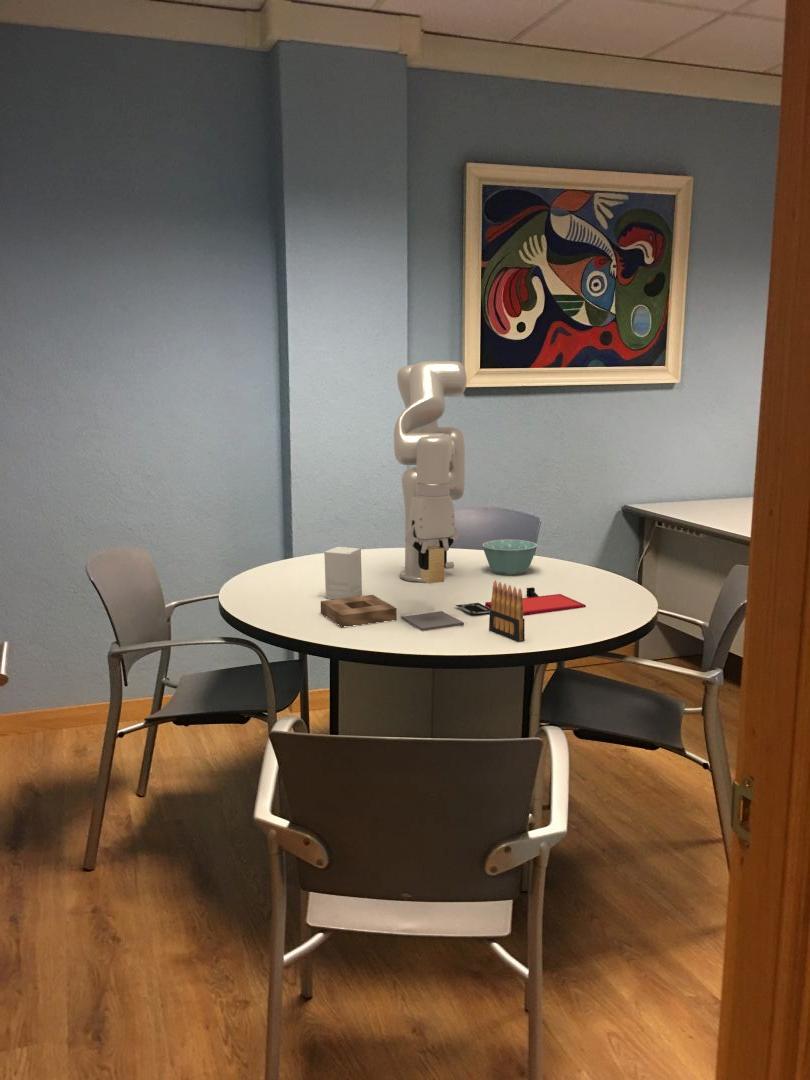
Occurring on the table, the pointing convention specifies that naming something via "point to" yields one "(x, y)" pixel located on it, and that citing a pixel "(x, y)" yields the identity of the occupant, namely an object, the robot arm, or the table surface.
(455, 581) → the table surface
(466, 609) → the red board with handle
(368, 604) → the socket block
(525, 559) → the bowl
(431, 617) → the rubber mat
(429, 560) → the wooden block
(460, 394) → the robot arm
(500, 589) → the ammunition clip
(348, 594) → the supplement box
